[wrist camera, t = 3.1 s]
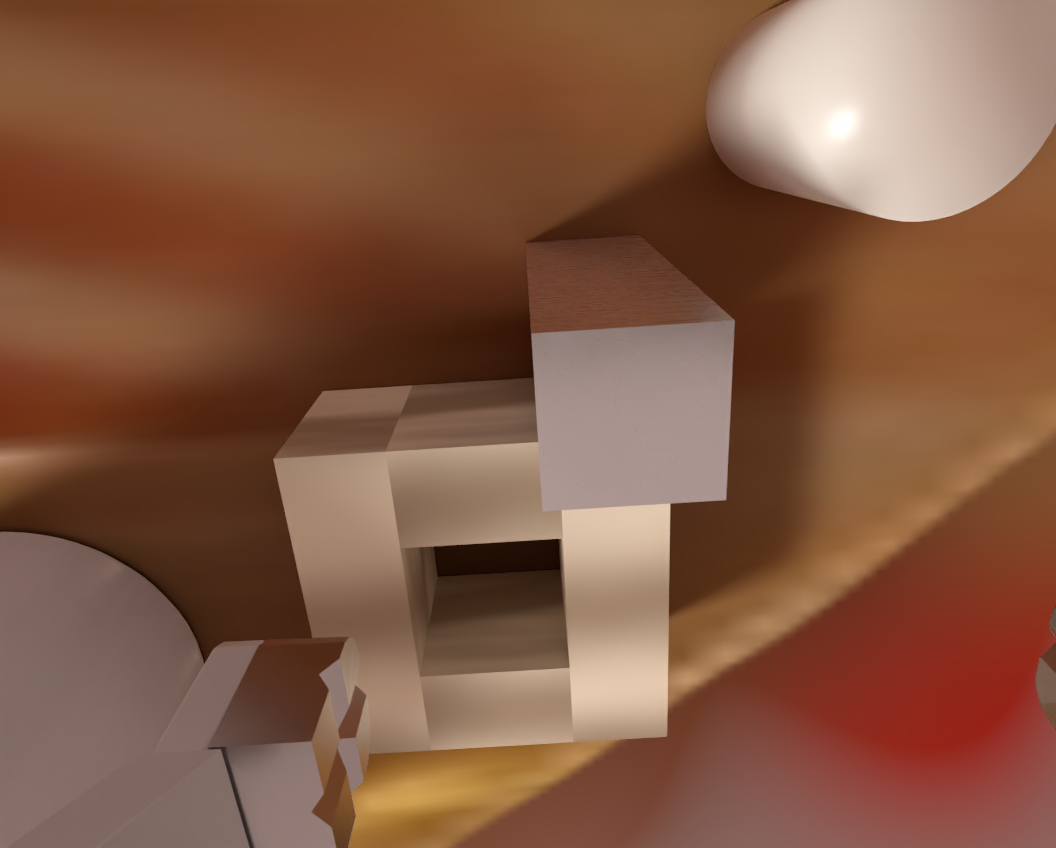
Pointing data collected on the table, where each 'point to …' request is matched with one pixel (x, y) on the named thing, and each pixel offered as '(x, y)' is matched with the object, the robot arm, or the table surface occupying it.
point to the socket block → (472, 600)
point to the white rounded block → (887, 101)
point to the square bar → (626, 377)
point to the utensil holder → (79, 673)
